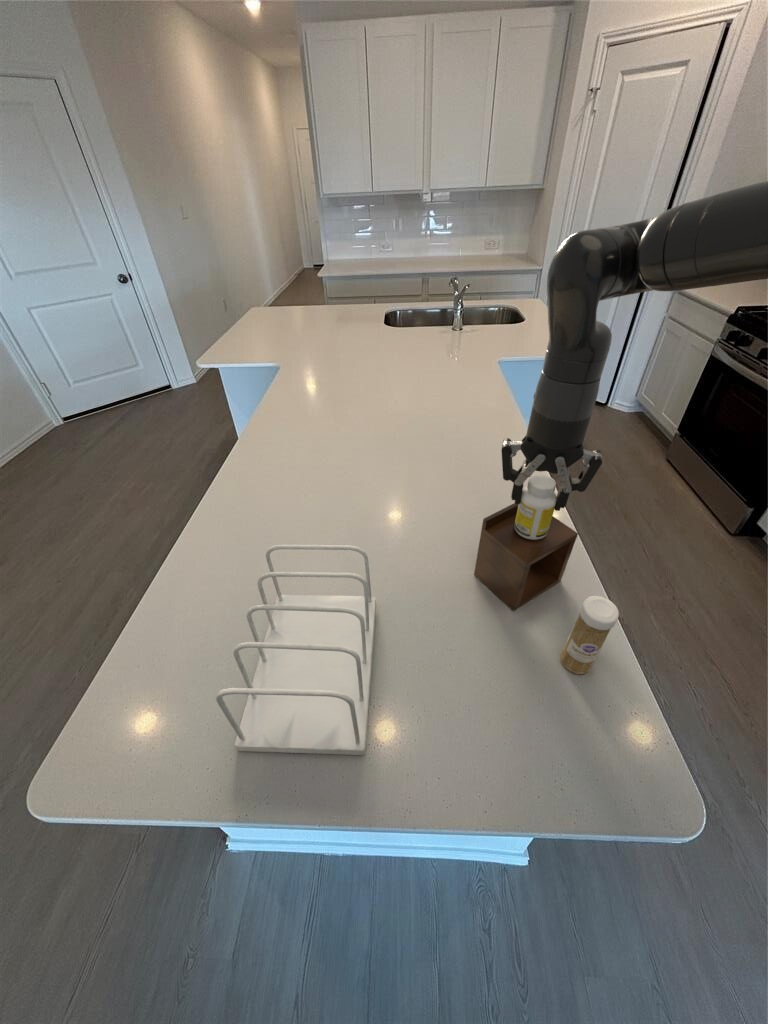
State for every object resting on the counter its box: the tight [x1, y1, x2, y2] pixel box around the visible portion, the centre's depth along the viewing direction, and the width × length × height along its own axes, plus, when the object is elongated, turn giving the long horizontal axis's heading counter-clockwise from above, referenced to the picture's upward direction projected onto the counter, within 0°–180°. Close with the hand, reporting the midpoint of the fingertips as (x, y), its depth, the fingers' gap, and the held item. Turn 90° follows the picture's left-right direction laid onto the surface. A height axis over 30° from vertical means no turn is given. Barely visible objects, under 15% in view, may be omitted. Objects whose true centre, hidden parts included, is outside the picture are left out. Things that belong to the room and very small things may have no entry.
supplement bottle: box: [514, 473, 557, 540], centre depth 69 cm, size 5×5×10 cm
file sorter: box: [215, 544, 377, 756], centre depth 63 cm, size 25×17×16 cm
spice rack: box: [473, 502, 579, 612], centre depth 76 cm, size 10×12×14 cm
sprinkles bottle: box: [559, 595, 620, 675], centre depth 63 cm, size 5×5×14 cm
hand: (537, 503), depth 69 cm, fingers closed on supplement bottle, 5 cm apart
